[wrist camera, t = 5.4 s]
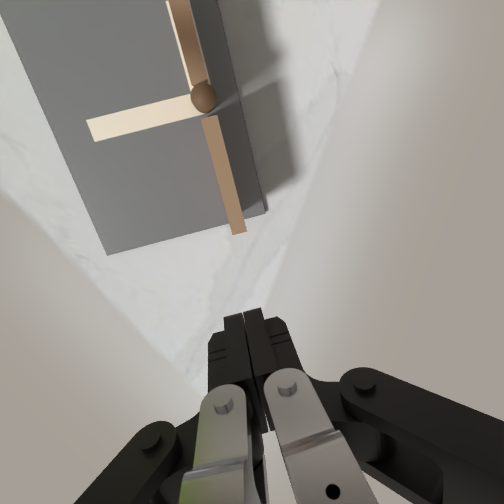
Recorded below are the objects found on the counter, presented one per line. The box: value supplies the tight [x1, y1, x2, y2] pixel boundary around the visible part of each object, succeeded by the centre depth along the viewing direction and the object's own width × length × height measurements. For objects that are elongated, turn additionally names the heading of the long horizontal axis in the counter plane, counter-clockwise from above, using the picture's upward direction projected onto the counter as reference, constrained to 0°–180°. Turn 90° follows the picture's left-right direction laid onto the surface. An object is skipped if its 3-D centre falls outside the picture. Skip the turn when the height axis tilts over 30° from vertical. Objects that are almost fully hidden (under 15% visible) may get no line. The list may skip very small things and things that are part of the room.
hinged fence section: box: [201, 115, 247, 235], centre depth 28 cm, size 9×1×6 cm, turn 13°
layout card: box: [0, 0, 265, 256], centre depth 29 cm, size 21×16×1 cm
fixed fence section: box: [168, 0, 217, 114], centre depth 24 cm, size 8×2×6 cm, turn 13°
